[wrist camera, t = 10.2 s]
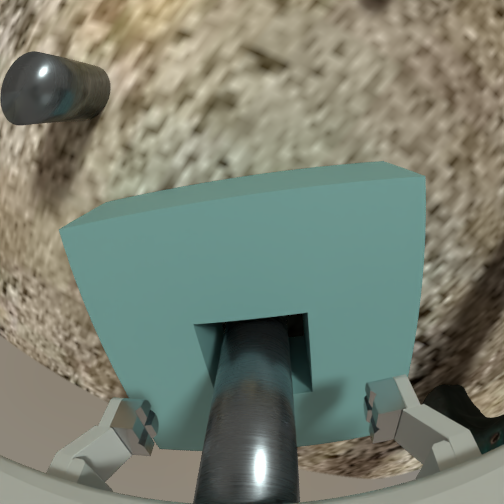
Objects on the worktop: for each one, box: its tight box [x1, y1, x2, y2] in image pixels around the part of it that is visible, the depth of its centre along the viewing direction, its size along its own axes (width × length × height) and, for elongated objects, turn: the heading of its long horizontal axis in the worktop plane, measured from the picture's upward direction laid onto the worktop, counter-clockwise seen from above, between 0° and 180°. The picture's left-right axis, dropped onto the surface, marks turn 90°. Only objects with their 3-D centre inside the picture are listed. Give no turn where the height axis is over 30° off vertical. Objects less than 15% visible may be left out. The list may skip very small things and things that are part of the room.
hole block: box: [59, 161, 426, 451], centre depth 15 cm, size 14×14×4 cm
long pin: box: [193, 315, 300, 504], centre depth 12 cm, size 3×3×12 cm
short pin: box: [1, 52, 110, 125], centre depth 11 cm, size 3×3×5 cm
